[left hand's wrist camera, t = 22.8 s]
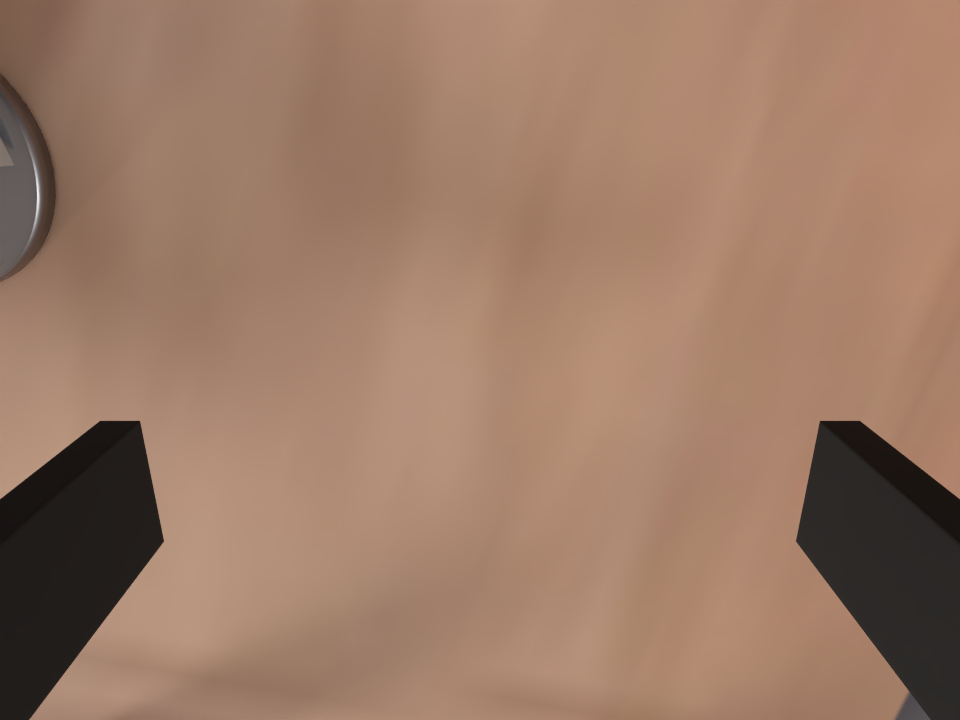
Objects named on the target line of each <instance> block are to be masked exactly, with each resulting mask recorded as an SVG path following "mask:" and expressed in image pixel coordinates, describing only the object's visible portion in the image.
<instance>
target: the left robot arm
mask: <svg viewBox="0 0 960 720" xmlns="http://www.w3.org/2000/svg"><path fill="white" fill-rule="evenodd" d="M54 208H55V179H54V172H53V167H52V162H51V158H50V154H49V151H48V148H47V145H46V142H45V140H44V137H43V135H42V133H41V130H40V128H39V126H38V124H37V122H36V120H35V119H34V117H33V115H32V113H31V112H30V110H29V109H28V107H27V105H26V104H25V103H24V101H23V100H22V98H21V97H20V96H19V94H18V93H17V92H16V91H15V89H14V88H13V87H12V86H11V85H10V84H9V82H8V81H7V80H6V79H5V78H4V77H3V76H2V75H1V74H0V281H3V280H5V279H7V278H9V277H11V276H12V275H14V274H15V273H17V272H18V271H20V270H21V269H22V268H23V267H25V266H26V265H27V264H28V263H29V262H30V261H31V260H32V259H33V258H34V256H35V255H36V254H37V252H38V251H39V250H40V248H41V246H42V244H43V243H44V241H45V239H46V237H47V234H48V232H49V229H50V226H51V223H52V219H53V214H54ZM163 542H164V539H163V534H162V529H161V524H160V519H159V514H158V509H157V504H156V499H155V494H154V489H153V484H152V479H151V474H150V469H149V464H148V459H147V454H146V449H145V444H144V439H143V434H142V429H141V424H140V421H100V422H98V423H97V424H96V425H94V426H93V427H92V428H91V429H89V430H88V431H87V432H86V433H84V434H83V435H82V436H80V437H79V438H78V439H77V440H75V441H74V442H73V443H71V444H70V445H69V446H68V447H66V448H65V449H64V450H63V451H61V452H60V453H59V454H57V455H56V456H55V457H54V458H52V459H51V460H50V461H49V462H47V463H46V464H45V465H43V466H42V467H41V468H40V469H38V470H37V471H36V472H34V473H33V474H32V475H31V476H29V477H28V478H27V479H26V480H24V481H23V482H22V483H20V484H19V485H18V486H17V487H15V488H14V489H13V490H12V491H10V492H9V493H8V494H6V495H5V496H4V497H3V498H1V499H0V720H29V719H30V718H31V716H32V715H33V714H34V713H35V711H36V710H37V709H38V707H39V706H40V705H41V703H42V702H43V701H44V699H45V698H46V697H47V695H48V694H49V693H50V691H51V690H52V689H53V687H54V686H55V685H56V683H57V682H58V681H59V679H60V678H61V677H62V675H63V674H64V673H65V672H66V670H67V669H68V668H69V666H70V665H71V664H72V662H73V661H74V660H75V658H76V657H77V656H78V654H79V653H80V652H81V650H82V649H83V648H84V646H85V645H86V644H87V642H88V641H89V640H90V638H91V637H92V636H93V635H94V633H95V632H96V631H97V629H98V628H99V627H100V625H101V624H102V623H103V621H104V620H105V619H106V617H107V616H108V615H109V613H110V612H111V611H112V609H113V608H114V607H115V605H116V604H117V603H118V601H119V600H120V599H121V597H122V596H123V595H124V594H125V592H126V591H127V590H128V588H129V587H130V586H131V584H132V583H133V582H134V580H135V579H136V578H137V576H138V575H139V574H140V572H141V571H142V570H143V568H144V567H145V566H146V564H147V563H148V562H149V560H150V559H151V558H152V556H153V555H154V554H155V553H156V551H157V550H158V549H159V547H160V546H161V545H162V543H163ZM796 542H797V543H798V545H799V546H800V547H801V549H802V550H803V551H804V553H805V554H806V555H807V556H808V558H809V559H810V560H811V562H812V563H813V564H814V566H815V567H816V568H817V570H818V571H819V572H820V574H821V575H822V576H823V578H824V579H825V580H826V582H827V583H828V584H829V586H830V587H831V588H832V590H833V591H834V592H835V594H836V595H837V596H838V597H839V599H840V600H841V601H842V603H843V604H844V605H845V607H846V608H847V609H848V611H849V612H850V613H851V615H852V616H853V617H854V619H855V620H856V621H857V623H858V624H859V625H860V627H861V628H862V629H863V631H864V632H865V633H866V635H867V636H868V637H869V638H870V640H871V641H872V642H873V644H874V645H875V646H876V648H877V649H878V650H879V652H880V653H881V654H882V656H883V657H884V658H885V660H886V661H887V662H888V664H889V665H890V666H891V668H892V669H893V670H894V672H895V673H896V674H897V675H898V677H899V678H900V679H901V681H902V682H903V683H904V685H905V686H906V687H907V689H908V690H909V691H910V693H911V694H912V695H913V697H914V698H915V699H916V701H917V702H918V703H919V705H920V706H921V707H922V709H923V710H924V711H925V713H926V714H927V715H928V716H929V718H930V719H931V720H960V499H959V498H957V497H956V496H955V495H954V494H952V493H951V492H950V491H948V490H947V489H946V488H945V487H943V486H942V485H941V484H940V483H938V482H937V481H936V480H934V479H933V478H932V477H931V476H929V475H928V474H927V473H926V472H924V471H923V470H922V469H920V468H919V467H918V466H917V465H915V464H914V463H913V462H911V461H910V460H909V459H908V458H906V457H905V456H904V455H903V454H901V453H900V452H899V451H897V450H896V449H895V448H894V447H892V446H891V445H890V444H889V443H887V442H886V441H885V440H883V439H882V438H881V437H880V436H878V435H877V434H876V433H874V432H873V431H872V430H871V429H869V428H868V427H867V426H866V425H864V424H863V423H862V422H860V421H820V424H819V429H818V434H817V439H816V444H815V449H814V454H813V459H812V464H811V469H810V474H809V479H808V484H807V489H806V494H805V499H804V504H803V509H802V514H801V519H800V524H799V529H798V534H797V539H796Z"/></svg>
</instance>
